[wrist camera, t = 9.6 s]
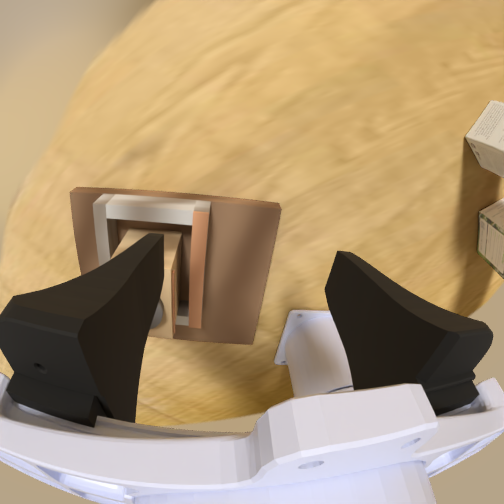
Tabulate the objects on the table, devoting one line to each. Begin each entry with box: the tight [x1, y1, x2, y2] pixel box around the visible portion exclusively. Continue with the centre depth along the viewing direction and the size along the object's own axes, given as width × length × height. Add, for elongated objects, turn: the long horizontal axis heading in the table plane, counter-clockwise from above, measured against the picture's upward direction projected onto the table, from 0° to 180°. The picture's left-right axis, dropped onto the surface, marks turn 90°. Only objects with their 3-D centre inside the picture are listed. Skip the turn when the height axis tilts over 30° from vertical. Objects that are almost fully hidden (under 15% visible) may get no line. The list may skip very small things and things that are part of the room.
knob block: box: [110, 227, 182, 339], centre depth 20 cm, size 4×6×6 cm
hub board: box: [70, 187, 281, 345], centre depth 23 cm, size 16×14×3 cm
